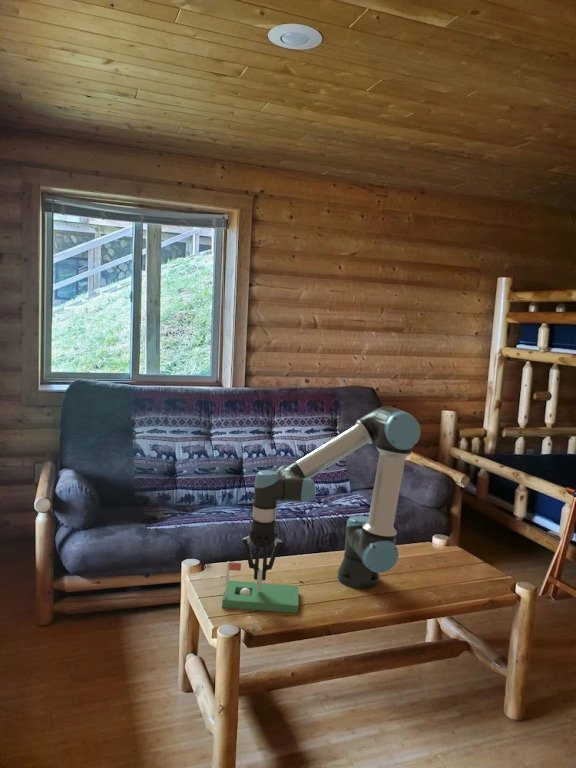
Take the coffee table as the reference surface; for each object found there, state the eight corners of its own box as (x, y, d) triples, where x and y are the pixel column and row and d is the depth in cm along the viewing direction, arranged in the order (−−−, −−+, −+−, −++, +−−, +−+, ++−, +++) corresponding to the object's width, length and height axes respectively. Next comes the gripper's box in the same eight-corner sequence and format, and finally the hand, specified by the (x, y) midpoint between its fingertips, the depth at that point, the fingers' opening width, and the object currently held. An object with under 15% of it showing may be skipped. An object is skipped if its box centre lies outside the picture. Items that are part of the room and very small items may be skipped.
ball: (252, 594, 194) (248, 584, 193) (251, 599, 190) (247, 589, 190) (242, 597, 194) (238, 588, 194) (241, 603, 190) (237, 593, 190)
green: (297, 593, 199) (298, 585, 199) (297, 613, 185) (298, 605, 185) (227, 587, 199) (227, 580, 199) (221, 607, 185) (222, 599, 185)
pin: (238, 598, 186) (241, 562, 185) (238, 600, 186) (240, 563, 184) (224, 597, 187) (227, 561, 185) (224, 598, 186) (226, 562, 185)
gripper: (284, 516, 193) (279, 585, 196) (244, 513, 193) (240, 582, 196) (283, 524, 186) (278, 595, 188) (242, 521, 186) (237, 592, 188)
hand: (259, 588), depth 192 cm, fingers closed
